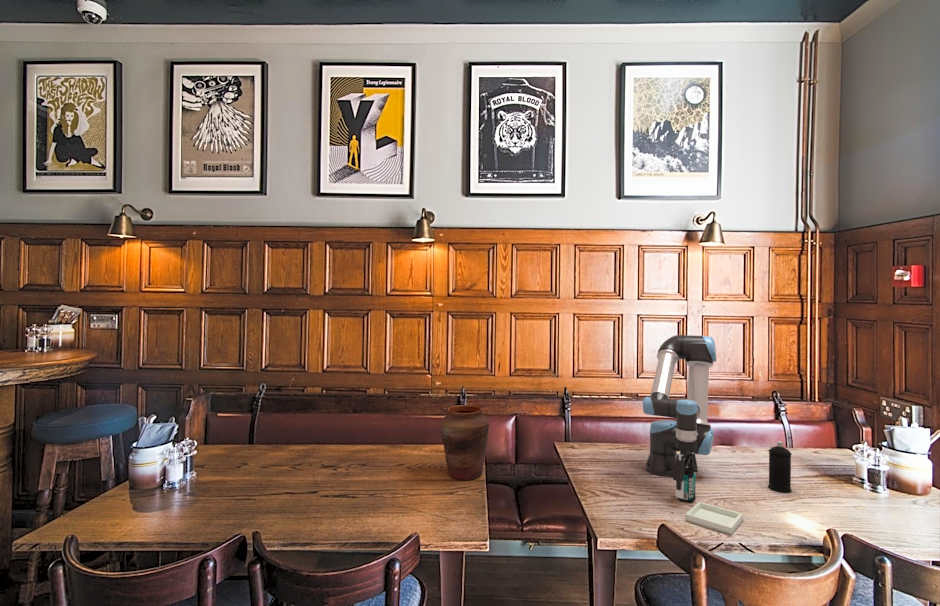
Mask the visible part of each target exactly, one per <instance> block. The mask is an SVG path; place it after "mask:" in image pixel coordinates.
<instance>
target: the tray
mask: <svg viewBox="0 0 940 606" xmlns="http://www.w3.org/2000/svg"><path fill="white" fill-rule="evenodd" d="M684 520H685V522H687V521H688V522H687V523H690V522H691V523H690V524H693V523H694V524H693V525H696V524H697V525H696V526H701V527H703V528H706V529H710V530H713V531H716V532H719V533H723V534H725V535H729V536H733V535H734V533H735V531H736V530H737V529H738V528H739V526H740V525H741V524H742V523H743V522H744V513H742V512H739V511H734V510H730V509H727V508H724V507H720V506H716V505H714V504H713V505H712V504H709V503H705V502H702V501H698V502H697V503H696V504H694V506H693V507H691V508H690V509H689V510H688V511H687V512H686V513H685V519H684Z"/></svg>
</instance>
